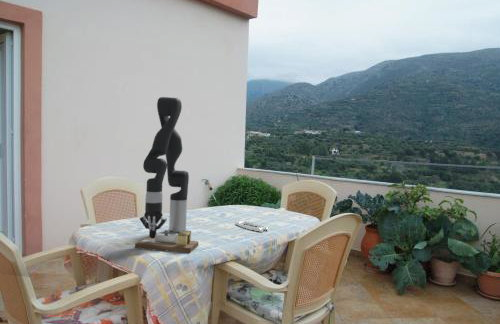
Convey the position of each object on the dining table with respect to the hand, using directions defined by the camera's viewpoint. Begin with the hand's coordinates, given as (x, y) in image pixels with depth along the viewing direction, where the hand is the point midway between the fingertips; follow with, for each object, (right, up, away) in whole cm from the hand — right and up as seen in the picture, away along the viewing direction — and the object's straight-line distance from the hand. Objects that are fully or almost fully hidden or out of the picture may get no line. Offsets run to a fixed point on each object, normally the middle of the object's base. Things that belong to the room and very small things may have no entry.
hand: (152, 237), depth 163 cm
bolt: (+7, -1, -1) cm, 7 cm away
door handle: (+46, -5, +46) cm, 65 cm away
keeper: (+15, -2, -2) cm, 15 cm away
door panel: (+7, -4, -1) cm, 8 cm away
